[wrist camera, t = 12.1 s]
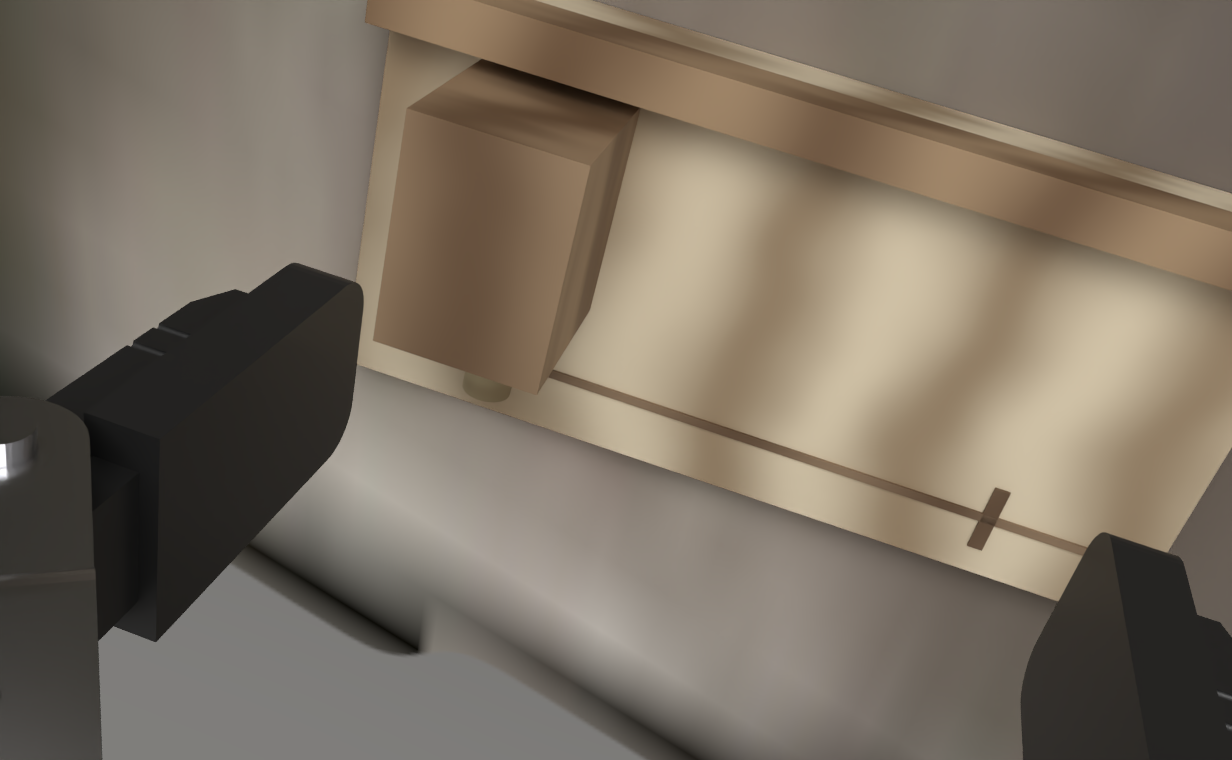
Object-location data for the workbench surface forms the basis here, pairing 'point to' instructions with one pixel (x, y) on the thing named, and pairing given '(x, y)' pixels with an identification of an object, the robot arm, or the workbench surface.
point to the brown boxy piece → (500, 224)
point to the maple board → (858, 296)
